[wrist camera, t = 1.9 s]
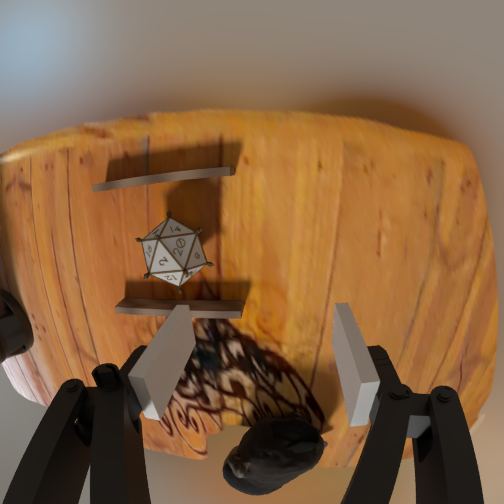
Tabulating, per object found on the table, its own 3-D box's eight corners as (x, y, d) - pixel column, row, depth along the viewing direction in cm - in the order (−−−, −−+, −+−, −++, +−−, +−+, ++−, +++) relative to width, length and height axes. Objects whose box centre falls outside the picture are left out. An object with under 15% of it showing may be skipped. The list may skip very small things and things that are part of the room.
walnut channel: (125, 303, 39) (116, 313, 36) (104, 182, 34) (92, 184, 31) (244, 307, 37) (241, 318, 34) (233, 166, 32) (229, 166, 29)
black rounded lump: (322, 395, 48) (360, 445, 36) (279, 452, 53) (303, 495, 42) (226, 402, 39) (257, 473, 28) (196, 461, 44) (215, 515, 33)
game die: (185, 224, 39) (153, 186, 30) (234, 252, 36) (211, 216, 27) (148, 276, 37) (106, 252, 28) (195, 310, 34) (158, 294, 25)
